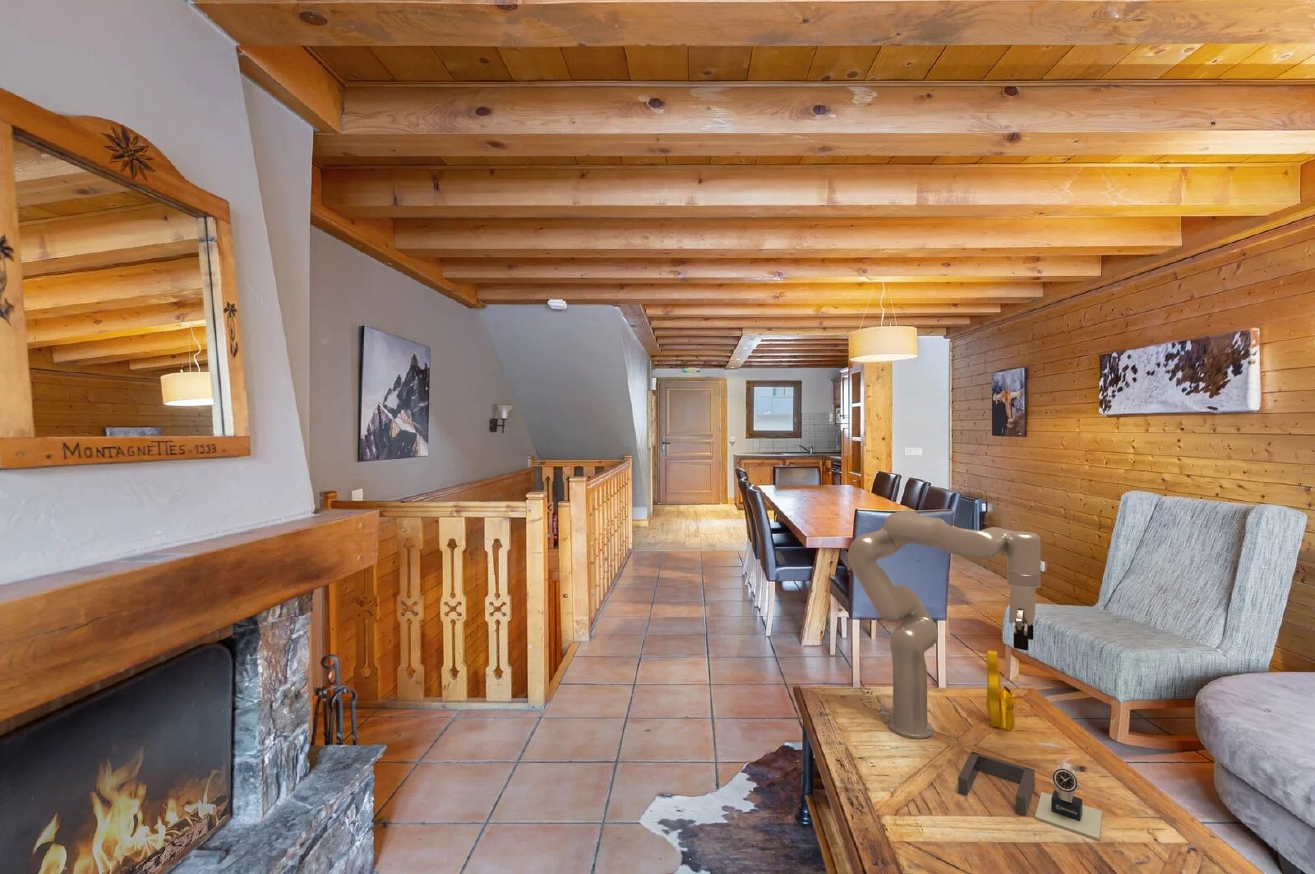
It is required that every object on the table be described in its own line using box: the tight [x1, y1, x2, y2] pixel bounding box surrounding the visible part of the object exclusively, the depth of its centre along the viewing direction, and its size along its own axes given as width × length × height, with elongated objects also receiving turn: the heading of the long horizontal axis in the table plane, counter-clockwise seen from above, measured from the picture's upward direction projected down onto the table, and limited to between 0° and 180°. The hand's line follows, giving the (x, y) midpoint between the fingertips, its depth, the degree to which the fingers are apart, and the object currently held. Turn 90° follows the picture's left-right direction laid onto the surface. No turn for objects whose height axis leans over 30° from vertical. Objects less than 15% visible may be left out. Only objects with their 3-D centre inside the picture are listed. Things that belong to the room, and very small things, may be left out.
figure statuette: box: [985, 649, 1016, 732], centre depth 182 cm, size 18×8×22 cm, turn 144°
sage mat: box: [1034, 791, 1103, 842], centre depth 139 cm, size 12×12×1 cm
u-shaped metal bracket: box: [957, 750, 1036, 817], centre depth 150 cm, size 14×15×4 cm
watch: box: [1051, 761, 1083, 821], centre depth 140 cm, size 6×8×11 cm
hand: (1023, 643), depth 158 cm, fingers open, 9 cm apart
